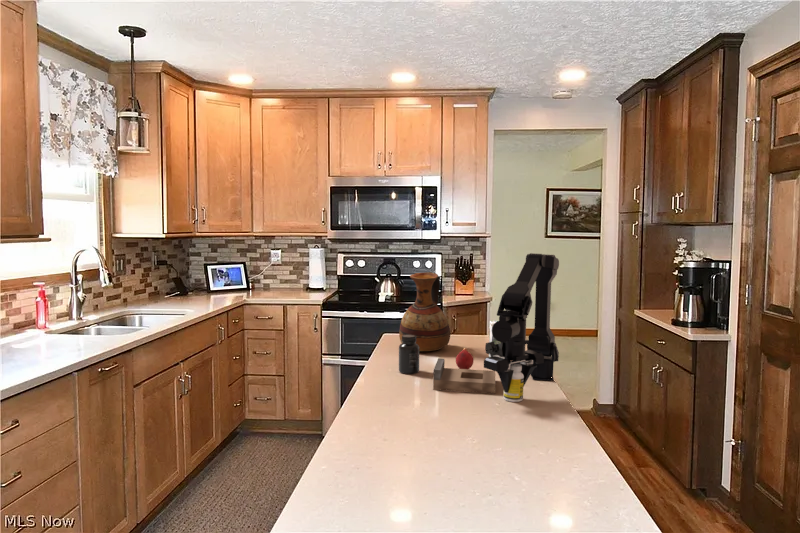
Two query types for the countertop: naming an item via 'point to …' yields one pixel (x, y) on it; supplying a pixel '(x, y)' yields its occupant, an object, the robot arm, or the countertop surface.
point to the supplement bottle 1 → (409, 355)
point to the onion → (464, 359)
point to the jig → (463, 379)
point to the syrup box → (491, 338)
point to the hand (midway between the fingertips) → (513, 390)
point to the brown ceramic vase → (426, 315)
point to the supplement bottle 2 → (515, 385)
